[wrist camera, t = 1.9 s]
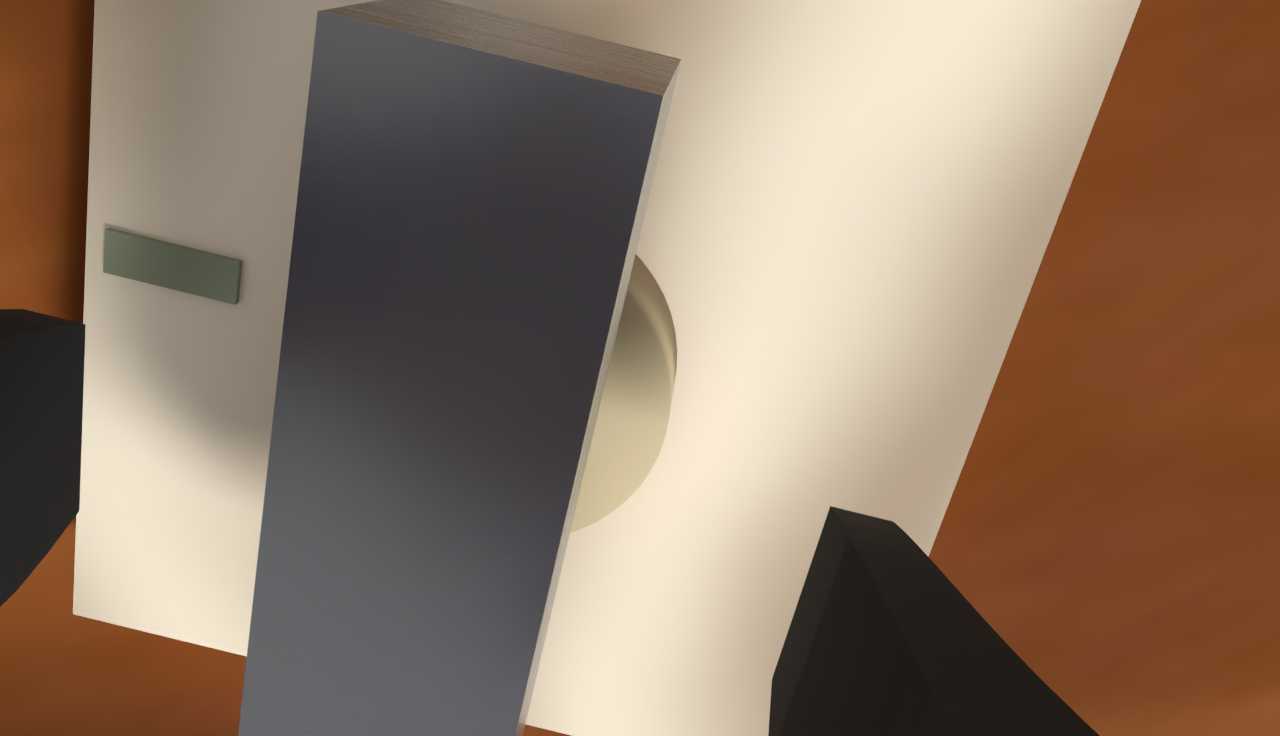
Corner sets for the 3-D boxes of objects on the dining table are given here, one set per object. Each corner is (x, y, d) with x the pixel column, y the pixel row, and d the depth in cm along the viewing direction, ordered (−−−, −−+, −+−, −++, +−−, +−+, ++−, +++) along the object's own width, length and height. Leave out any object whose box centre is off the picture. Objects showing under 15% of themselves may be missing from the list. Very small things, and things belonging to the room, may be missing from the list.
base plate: (1102, -12, 14) (1194, 2, 11) (828, 733, 18) (844, 876, 15) (168, -243, 14) (22, -288, 11) (123, 562, 18) (12, 675, 15)
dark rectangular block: (694, 42, 11) (669, 98, 7) (530, 734, 15) (455, 1018, 11) (456, -16, 11) (308, 9, 7) (347, 689, 15) (206, 959, 11)
